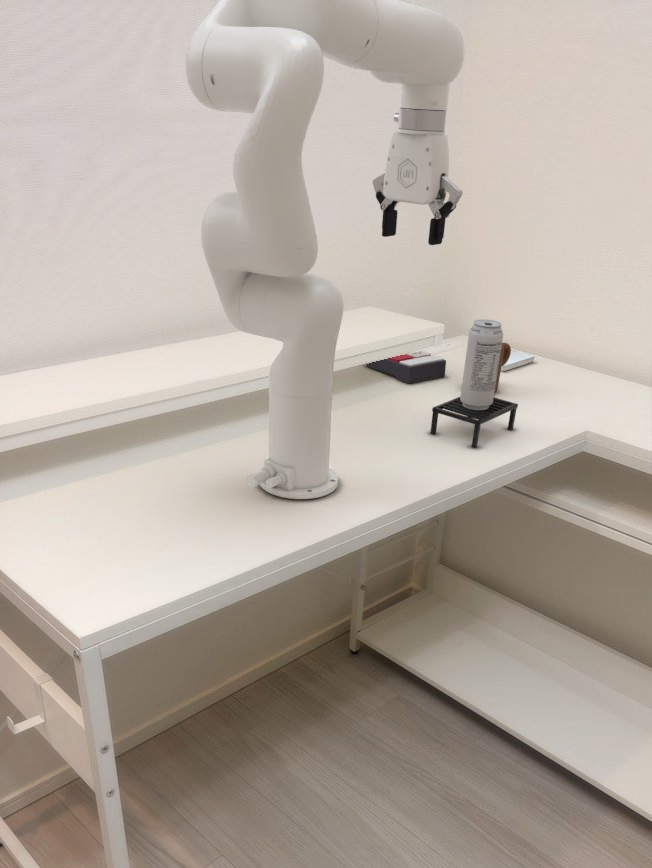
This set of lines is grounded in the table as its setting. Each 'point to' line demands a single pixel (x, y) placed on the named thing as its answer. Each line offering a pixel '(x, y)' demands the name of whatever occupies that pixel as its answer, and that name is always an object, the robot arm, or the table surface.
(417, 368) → the calculator
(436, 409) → the rack
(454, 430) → the table surface
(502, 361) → the mug
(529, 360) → the hard drive
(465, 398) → the energy drink can
